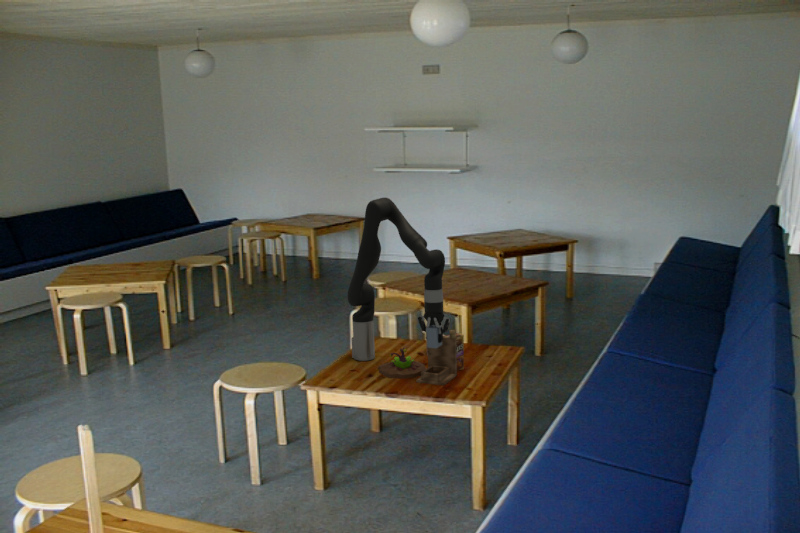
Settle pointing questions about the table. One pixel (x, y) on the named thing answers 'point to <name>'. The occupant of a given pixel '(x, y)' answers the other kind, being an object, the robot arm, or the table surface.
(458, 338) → the candy box
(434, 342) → the block
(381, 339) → the table surface
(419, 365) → the plant
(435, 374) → the chair
